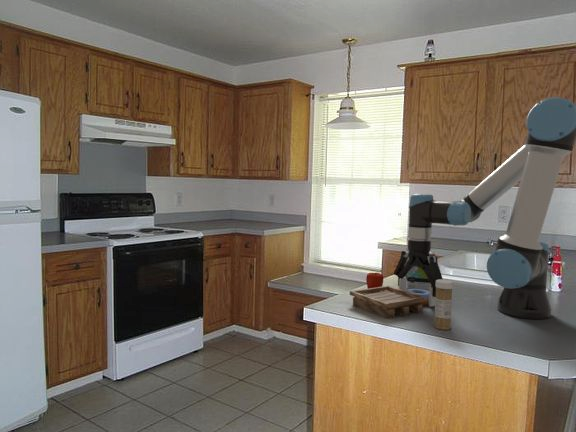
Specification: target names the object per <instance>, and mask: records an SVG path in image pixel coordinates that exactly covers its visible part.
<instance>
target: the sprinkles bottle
mask: <svg viewBox="0 0 576 432" xmlns="http://www.w3.org/2000/svg"><path fill="white" fill-rule="evenodd" d="M435 286H436V297H435V306H434V323H433V327H435V329H438V330H443V331H447V330H450V329H451V327H452V326H451V323H452V320H451V319H452V304H453V298H452V297H453V296H452V295H453V293H452V292H453V289H454V287H453V286H454V282H453V280H449V279H439V280H436V284H435Z"/></svg>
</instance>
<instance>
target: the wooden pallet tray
mask: <svg viewBox="0 0 576 432" xmlns="http://www.w3.org/2000/svg"><path fill="white" fill-rule="evenodd" d="M379 291H380V292H379ZM372 292H373V293H372ZM349 296H352V305H353V306H355V307H357V308H361V309H363V310H366V311H368V312H371V313H373V314H375V315H379V316H380V317H383V316H384V318H386V319H389V320H390V318H391V319H395V314H397V313H398V314H397V315H400V314H401V315H400V316H402V317H403V316H404V317H406V316H405V315H407V316H409V315H410V311H411V312H413V313H416V314H420V313H423V307H424V305H422V304H421V302H423V301H426V297H424V296H421V295H417V294H414V293H411V292H407V290H406V291H404V290H401V289H399V288H397V287H394V286H390V285H385V286H383V285H382V287H376V288H369V289H368V288H363V289H356V290H350V291H349Z"/></svg>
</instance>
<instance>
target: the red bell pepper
mask: <svg viewBox="0 0 576 432" xmlns="http://www.w3.org/2000/svg"><path fill="white" fill-rule="evenodd" d="M365 282H366V287H367V288H366V289H369V288H376V287H383V284H384V275H383V273H380V272H369V273H367V274H366V280H365ZM379 292H380V291H379ZM372 293H373V292H372Z"/></svg>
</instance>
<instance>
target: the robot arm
mask: <svg viewBox="0 0 576 432" xmlns="http://www.w3.org/2000/svg"><path fill="white" fill-rule="evenodd" d="M526 129H527V131H528V132H527V135H526V138H525V143H524V145H523V146H522V147H521V148H519V149H518V150H517V151H516V152H514V153H513V154H512V155H511V156H510V157H509V158H508V159H506V160H505V161H504V162H503V163H502V164H501V165H500V166H498V167H497V168H495V170H494V171H493V172H491V174H489V175H488V176H487V177H486V178H485V179H483V180H482V181H481V182H480V183H479V184H478V185H477V186H476V187H475V188H473V189H472V190H471V191H470V192H469V193H468V194H466V195H465V196H464V197H463V198H462V199H461V200H455V201H452V200H435V199H434V195H433V194H430V193H429V194H427V193H413V194H411V196H410V199H409V207H408V208H409V211H408V213H409V215H408V217H409V219H408V229H407V231H408V233H407V235H408V236H407V237H408V240H407V248H408V250H409V251H406V250H402V251H401V253H400V258H399V260H398V262H397V265H396V267H395V269H394V272H393V275H395V276H397V286H398V289H401V290H404V291H407V288H406V278H405V277H406V276H405V275H406V274H407V273H408V272H409V271H410V269H411V268H412V267H413V266H417V267H421V269H422V270H424V272H425V274H426V276H427V278H428V280H429V282H430V283H431V285H432V286H431V287H430V289H429V305H428V307H430V308H431V307H435V297H436V286H435V284H436V280H439V279H443V275H442V273H441V270H440V266H439V263H438V256H437V255H435V256H432V257H431V256H429V252H430V250H432V241H431V239H432V229H433V227H432V226H433V224H440V225H452V226H456V227H457V226H467V225H468V224H469V223H472V222H475V221H477V220H478V219H479V218H480V217H481V215H482V213H483V212H484V211H485V210H487V209H488V208H489V207H490V206H492V204H494V203H495V202H496V201H498V200H499V199H500V198H501V197H502V196H503V195H505V194H506V193H507V192H508V191H510V190H511V189H513V187H515V186H516V185H518V183H519V185H518V189H517V193H516V196H515V200H514V203H513V206H512V209H511V212H510V213H511V214H510V217H509V221H508V224H507V229H506V230H505V231H506V232H504V233H503V234H502V235H499V236H498V239H497V242H496V246H495V249H494V251H493V252H492V253H491V254H490V255H489V256H488V259H487V261H486V272H487V274H488V276H489V277H490V279H491V280H492V281H493V283H495V284H497V286H499V287H502V288H503V289H502V291H501V294H500V295H499V298H498V301H497V307H496V309H497V311H499V312H501V313H503V314H505V315H508V316H512V317H518V318H522V319H528V320H529V319H532V320H545V319H548V318H551V317H552V306H551V303H550V299H549V296H548V292H547V283H548V280H547V279H548V269H549V268H548V267H549V255H550V250H549V245H548V243H547V242H543V241H539V240H540V236H541V234H542V230H543V227H544V223H545V219H546V216H547V213H548V210H549V207H550V204H551V200H552V196H553V193H554V190H555V186H556V184H557V180H558V176H559V174H560V171H561V166H562V164H563V160H564V158H565V157H566V156H568V155H570V154H572V152H573V149H574V146H575V143H576V103H575V102H573V100H571V99H568V98H563V97H559V96H555V97H548V98H545V99H542V100H540V101H539V102H537V103H536V104H535V105H533V107H532V108H531V109H530V110H529V112H528V114H527V116H526ZM408 257H409V260H408V261H407V259H408ZM406 262H407V263H406ZM429 262H430V264H429ZM405 264H406V265H405ZM425 265H426V266H425Z"/></svg>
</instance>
